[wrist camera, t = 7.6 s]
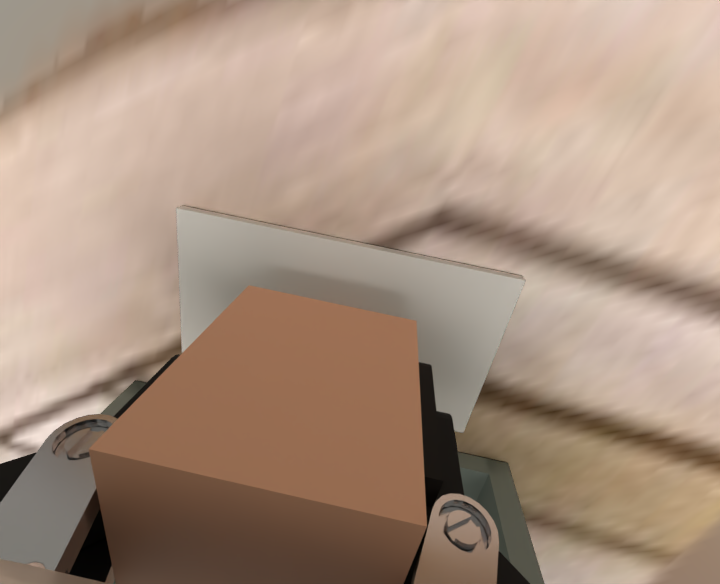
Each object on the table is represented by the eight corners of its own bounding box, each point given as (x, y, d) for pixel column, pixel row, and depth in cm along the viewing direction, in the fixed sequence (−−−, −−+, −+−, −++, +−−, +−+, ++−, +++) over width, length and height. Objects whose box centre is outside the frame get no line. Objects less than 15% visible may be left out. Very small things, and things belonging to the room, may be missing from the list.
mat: (522, 275, 12) (525, 280, 12) (462, 426, 16) (463, 433, 15) (182, 205, 13) (175, 207, 12) (187, 365, 16) (182, 371, 15)
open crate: (508, 463, 16) (553, 615, 11) (427, 622, 22) (433, 767, 17) (135, 380, 17) (19, 490, 12) (155, 558, 23) (84, 681, 18)
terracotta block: (416, 320, 11) (427, 526, 5) (381, 443, 13) (363, 680, 7) (248, 285, 11) (88, 448, 5) (242, 412, 13) (123, 621, 7)
